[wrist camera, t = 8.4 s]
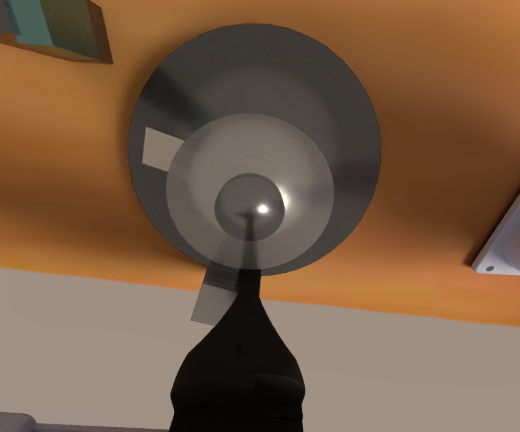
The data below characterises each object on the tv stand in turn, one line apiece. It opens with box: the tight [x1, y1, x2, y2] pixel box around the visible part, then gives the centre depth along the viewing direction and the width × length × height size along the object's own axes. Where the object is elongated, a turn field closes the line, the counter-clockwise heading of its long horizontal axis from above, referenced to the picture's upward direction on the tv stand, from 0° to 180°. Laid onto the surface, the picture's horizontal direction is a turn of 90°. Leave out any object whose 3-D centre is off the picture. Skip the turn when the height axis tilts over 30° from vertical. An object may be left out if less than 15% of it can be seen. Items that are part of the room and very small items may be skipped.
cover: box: [166, 113, 334, 270], centre depth 10 cm, size 7×7×3 cm
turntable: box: [128, 23, 381, 326], centre depth 10 cm, size 13×14×4 cm
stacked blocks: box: [0, 0, 113, 64], centre depth 7 cm, size 3×2×4 cm
